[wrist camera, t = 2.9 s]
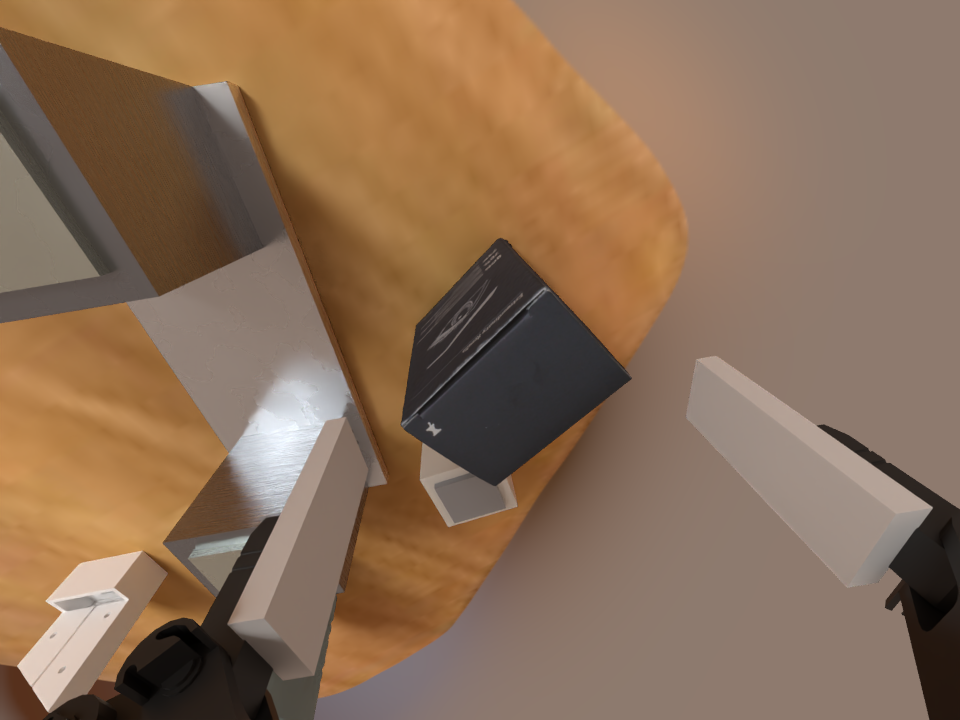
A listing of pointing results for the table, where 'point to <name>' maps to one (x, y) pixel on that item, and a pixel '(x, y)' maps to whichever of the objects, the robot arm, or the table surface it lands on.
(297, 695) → the grey green plant pot
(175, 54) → the table surface
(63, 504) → the table surface
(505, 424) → the box
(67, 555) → the table surface
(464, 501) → the block
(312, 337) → the rail plate
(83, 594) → the white slotted bracket
